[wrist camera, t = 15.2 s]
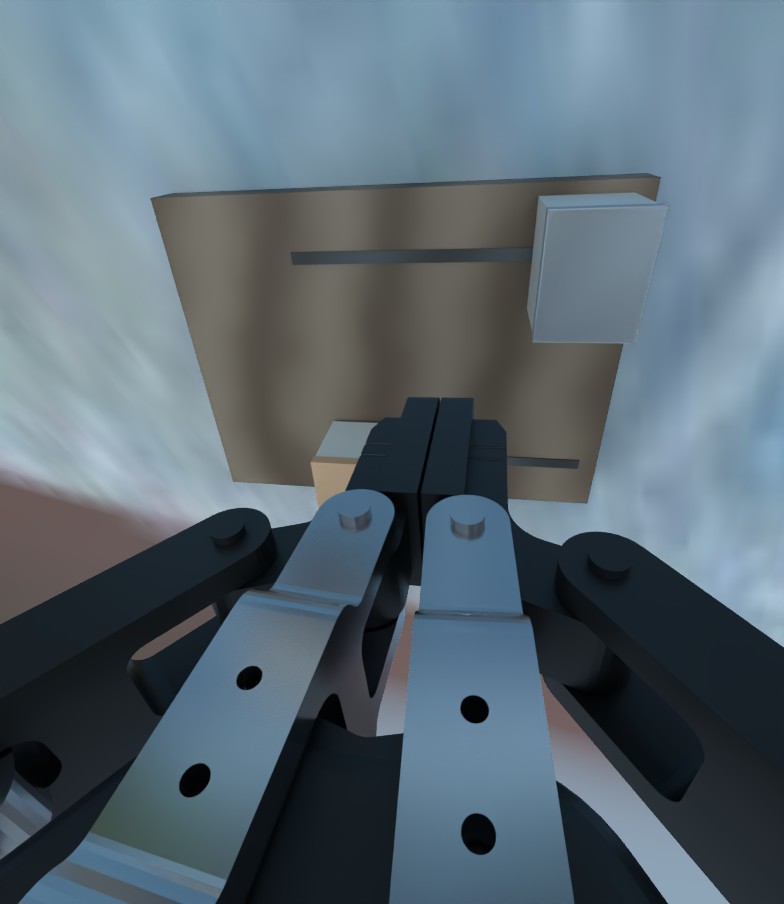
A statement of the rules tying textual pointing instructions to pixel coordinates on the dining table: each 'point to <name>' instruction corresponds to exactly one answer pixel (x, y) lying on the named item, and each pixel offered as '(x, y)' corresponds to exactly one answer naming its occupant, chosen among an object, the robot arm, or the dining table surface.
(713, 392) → the dining table surface
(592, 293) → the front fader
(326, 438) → the back fader
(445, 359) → the fader board
